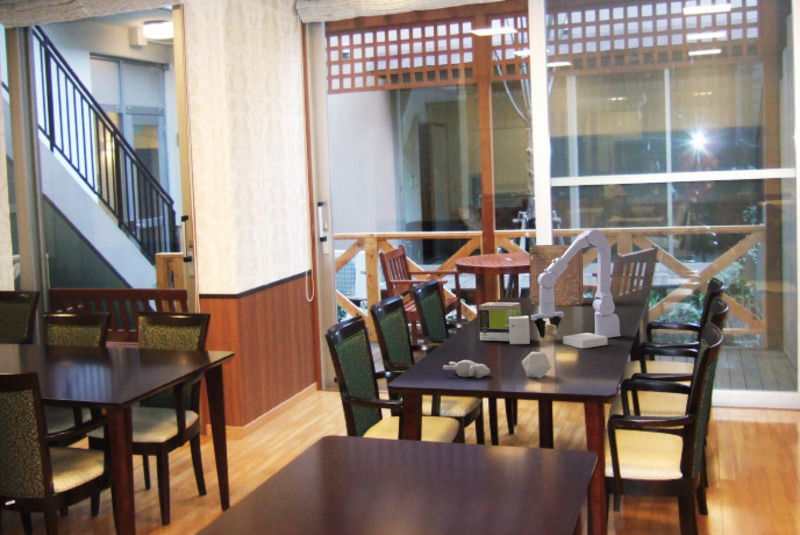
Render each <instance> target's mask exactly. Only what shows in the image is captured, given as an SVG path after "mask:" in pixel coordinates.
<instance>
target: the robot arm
mask: <svg viewBox="0 0 800 535" xmlns="http://www.w3.org/2000/svg"><path fill="white" fill-rule="evenodd" d="M570 245H571V246H570V247H569V248H568V249H567V251H566V252H565V253H564V254H563V256H562V257H561V258H556V259H553V260H552V264H551V265H550V266H549V267H548V268H547V269H545V270H544V271H545V272H544V273H541V274H540V275H539V277H538V279H537V282H538V284H539V285H540V305H539V313H536V314H531V315H530V320H531V321H533V322H534V324H535V326H536V328H537V331H538V335H539V334H540V337H544V335H545V324H547V320H546V319H548V320H549V324H552V325H556V329H557V330H558V327H559V326H560V325H559V324H560V323H561V321H562V317H563V318H564V311H561V310H560V311H555V306H554V285H555V283H556V279H557V278H558V277H559V276H560V275H561V274H562V273H563V272H564V271H565V269H566V268H567V263H568V262H569V261H570V260H571V258H572V257H573V256H574V255H575V254H576V253H577V252H578V251H579V250H580V249H582V248H583V249H584V248H589V247H592V248H593V249H594V250H595V251H596V252H597V264H596V265H597V269H596V271H597V275H596V278H597V279H596V280H597V281H596V284H597V285H596V292H595V294H594V299H593V302H592V307H593V308H592V309H593V310H594V311H595V312H594V334H596V335H601V336H605V337H607V339H609V338H615V337H620V336H622V334H620V333H621V332H620V331H621V330H620V318H619V316H618V315H617V314H616V313H614V311H615V310H616V305H615V302H614V300H613V298H614V296H613V294H612V292H611V278H612V277H611V276H612V275H611V274H612V272H611V271H612V269H611V268H612V266H611V265H612V248H611V245H610V243H609V241H608V239H607V238H606V235H605V234H604V233H603V232H602V231H601V230H599V229H593V228H588V227H587V228H585V229H583V230H582V231H581V233H580V234H578V235H577V237H576V238H575V240H574V241H573V242H572V243H570ZM544 319H545V320H544Z"/></svg>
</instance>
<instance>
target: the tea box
mask: <svg viewBox="0 0 800 535" xmlns="http://www.w3.org/2000/svg"><path fill="white" fill-rule="evenodd" d="M521 307H522V306H521V302H492V301H491V302H485V303H482V304H479V305H478V317H479V318H478V324H479V339H480V341H495V342H496V341H497V342H510V337H509V317H510V316H522V308H521Z"/></svg>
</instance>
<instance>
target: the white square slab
mask: <svg viewBox="0 0 800 535" xmlns="http://www.w3.org/2000/svg"><path fill="white" fill-rule="evenodd" d="M562 336H563V337H562V344H563V345H567V346H570V345H571V347H576V348H579V349H588V348H589V349H590V348H592V347H593V348H594V347H600V346H607V345H608V338H607V337H605V336H601V335H596V334H595V333H592V332H584V333H583V332H581V333H577V334H570V335H569V334H568V335H562Z"/></svg>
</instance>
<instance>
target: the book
mask: <svg viewBox="0 0 800 535" xmlns="http://www.w3.org/2000/svg"><path fill="white" fill-rule="evenodd" d="M570 246H571V244H534V245H533V246H529V247H528V248H529V278H530V280H529V281H530V282H529V284H530V286H529V287H530V305H531V306H540V285H539V284H538V282H537V279H538V277H539V275H540V274H541V273H544V272H545V271H544V270H545V269H547V268H548V267H549V266H550V265H551V264H552V260H553V259H556V258H561V257H562V256H563V254H564V253H565V252H566V251H567V249H568V248H569V247H570ZM583 250H584V248H582V249H580V250H579V251H578V252H577V253H576V254H575V255H574V256H573V257H572V258H571V260H570V261H569V262H568V263H567V268H566V269H565V271H564V272H563V273H562V274H561V275H560V276H559V277H558V278H557V279H556V283H555V285H554V307H555V306H556V307H557V306H558V307H559V306H560V307H561V306H562V307H569V306H570V307H575V306H576V307H580V306H582V305H583V304H584V270H583V269H584V267H583V266H584V262H583V260H584V258H583V257H584V256H583V252H584V251H583Z"/></svg>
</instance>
